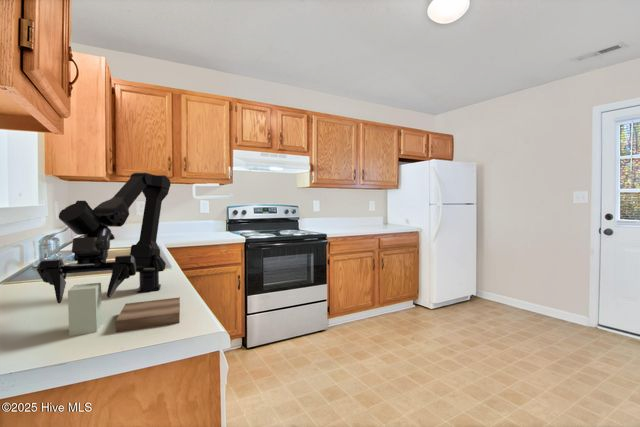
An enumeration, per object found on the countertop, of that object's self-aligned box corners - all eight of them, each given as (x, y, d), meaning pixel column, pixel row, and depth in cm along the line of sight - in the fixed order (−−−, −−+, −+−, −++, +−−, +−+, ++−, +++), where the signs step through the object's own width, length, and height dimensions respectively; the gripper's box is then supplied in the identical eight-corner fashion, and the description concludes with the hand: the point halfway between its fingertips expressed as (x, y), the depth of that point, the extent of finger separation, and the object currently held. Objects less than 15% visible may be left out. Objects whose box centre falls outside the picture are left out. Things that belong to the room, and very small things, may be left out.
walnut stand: (125, 313, 81) (125, 303, 81) (179, 306, 87) (179, 297, 87) (116, 332, 69) (115, 321, 69) (179, 322, 75) (179, 312, 75)
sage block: (76, 327, 72) (75, 285, 72) (102, 323, 74) (100, 282, 74) (69, 335, 68) (67, 290, 67) (96, 331, 70) (95, 288, 69)
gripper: (38, 225, 70) (16, 285, 61) (133, 223, 78) (127, 276, 68) (53, 254, 78) (35, 312, 68) (138, 250, 85) (133, 301, 76)
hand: (84, 299), depth 70 cm, fingers open, 9 cm apart
